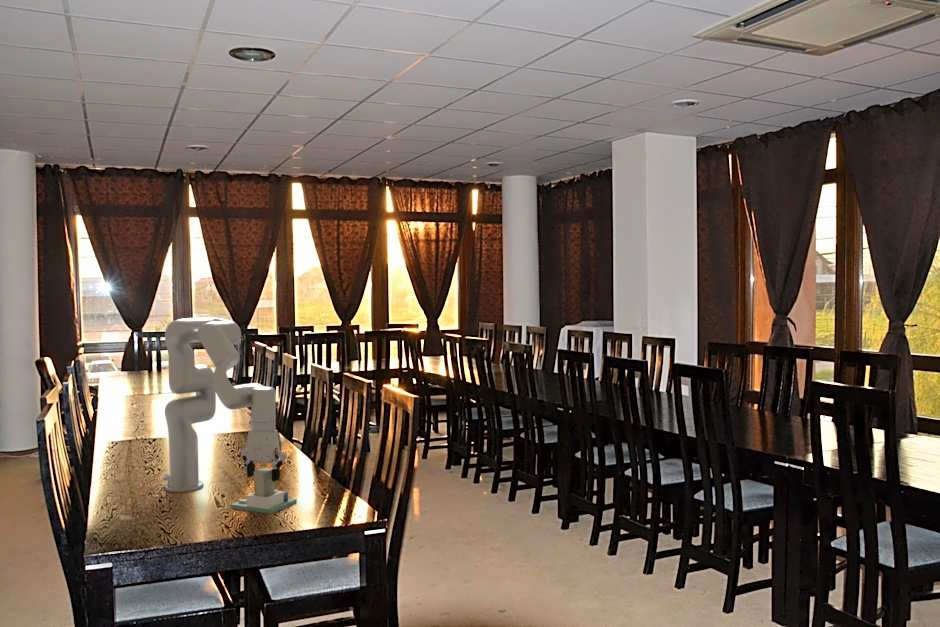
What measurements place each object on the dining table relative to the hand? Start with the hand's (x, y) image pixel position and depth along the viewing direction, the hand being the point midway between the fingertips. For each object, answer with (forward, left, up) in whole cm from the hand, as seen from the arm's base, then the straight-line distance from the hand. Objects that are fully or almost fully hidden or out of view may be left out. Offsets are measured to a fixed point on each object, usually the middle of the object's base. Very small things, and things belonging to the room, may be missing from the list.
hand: (263, 478), depth 260 cm
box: (+1, 0, -8) cm, 8 cm away
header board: (-1, +2, -9) cm, 10 cm away
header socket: (+1, 0, -8) cm, 8 cm away
